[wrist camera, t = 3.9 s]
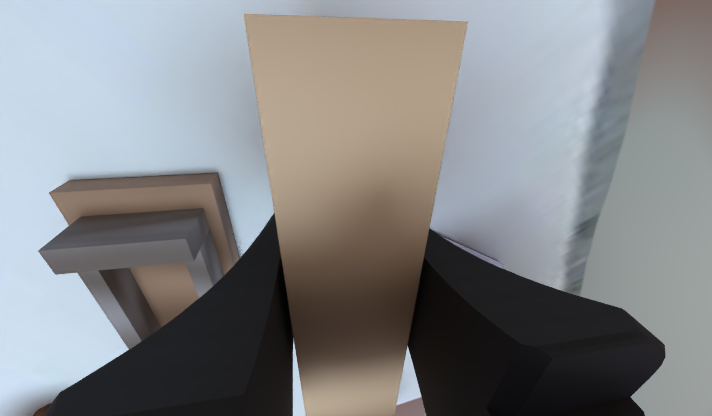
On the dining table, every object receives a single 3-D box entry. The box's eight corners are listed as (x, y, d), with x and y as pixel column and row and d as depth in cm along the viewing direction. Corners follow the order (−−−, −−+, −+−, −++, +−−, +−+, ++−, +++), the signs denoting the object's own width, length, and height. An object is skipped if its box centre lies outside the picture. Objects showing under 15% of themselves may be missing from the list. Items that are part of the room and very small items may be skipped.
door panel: (277, 28, 9) (243, 14, 3) (373, 31, 9) (468, 21, 4) (307, 313, 15) (311, 450, 10) (361, 307, 16) (390, 434, 11)
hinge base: (68, 180, 16) (-4, 224, 12) (217, 173, 17) (194, 211, 13) (178, 374, 26) (157, 430, 22) (266, 360, 27) (260, 412, 24)
